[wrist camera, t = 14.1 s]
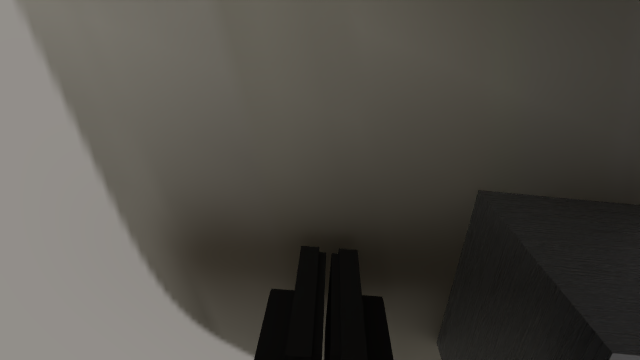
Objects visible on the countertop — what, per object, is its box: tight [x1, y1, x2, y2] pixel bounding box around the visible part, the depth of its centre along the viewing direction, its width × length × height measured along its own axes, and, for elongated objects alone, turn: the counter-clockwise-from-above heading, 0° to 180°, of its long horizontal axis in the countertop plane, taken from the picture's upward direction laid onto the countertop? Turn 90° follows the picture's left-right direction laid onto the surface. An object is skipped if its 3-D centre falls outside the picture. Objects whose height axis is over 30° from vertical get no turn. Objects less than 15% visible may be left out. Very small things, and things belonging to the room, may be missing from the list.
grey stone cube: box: [437, 190, 640, 360], centre depth 10 cm, size 8×6×6 cm
